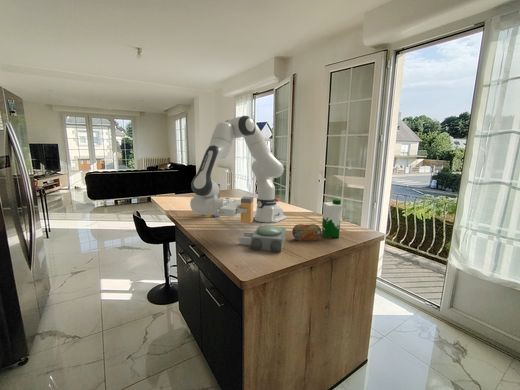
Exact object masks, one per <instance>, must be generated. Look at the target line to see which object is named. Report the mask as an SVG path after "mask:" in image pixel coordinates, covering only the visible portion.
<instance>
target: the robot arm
mask: <svg viewBox="0 0 520 390" xmlns="http://www.w3.org/2000/svg"><path fill="white" fill-rule="evenodd" d="M240 138H244V141H245V144H246V146H247V148H248V150H249V153H250V155H251V157H252V158H253V159H255V160H254V161H253V162H252V164H251V171H252V173H253V174H254V177H255V179H256V184H257V198H256V210H255V215H254V220H255V221H257V222H260V223H275V224H276V223H278V222H281V221H284V220H286V219H287V218H288V217H287V216H286V215H284V210H283V207H281V206H279V205H278V204H277V202H280V198H275V197H276V194H275V193H276V186H275V184H274V183H273V181H272V179H276V178H277V179H278V178H280V177H282V175H283V174H284V171H285V169H284V164H283V163H282V162H280V161H279V160H278V159H277V158H276V157H275V155H274V154H273V153H272V151H271V149H269V146H268V144H267V142H266V140H265V137H264V135H263V132H262V130H261V129H260V128H259V125H258V124H257V123H256V122H255V120H254V119H253V117H251V116H250V115H241V116H236V117H233V118H231V119H227V120H225V121H220V122H218V123H217V124H216V125H215V127H214V130H213V133H212V135H211V138H210V141H209V142H210V143H209V145H208V147H207V149H206V150H205V152H204V156H203V158H202V159H201V160H202V161H201V163H200V165H199V168H198V171H197V173H196V174H195V175H194V177H193V179H192V180H191V183H190V186H191V187H190V188H191V190H192V192H193V193H194V196H193V197H191V199H190V202H189V204H190V209H191V210H192V212H193V213H195V214H197V215H203V216H204V215H210V214H212V215H215V216H220V217H229V218H231V217H235V216H236V215H237V214H241V213H246V212H247V211H248V209H247V208H244V209H242V208H241V199H232V198H231V197H225V198H224V197H222V198H221V197H220V198H218V195H219V191H220V192H221V187H220V188H219V186H218V184H219V183H216V181H215V180H213V179H212V174H213V171H214V168H215V165H216V162H217V161H218V160H220V159H225V158H227V157H228V156H229V154H230V151H231V148H232V144H233V140H234V139H240Z"/></svg>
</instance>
